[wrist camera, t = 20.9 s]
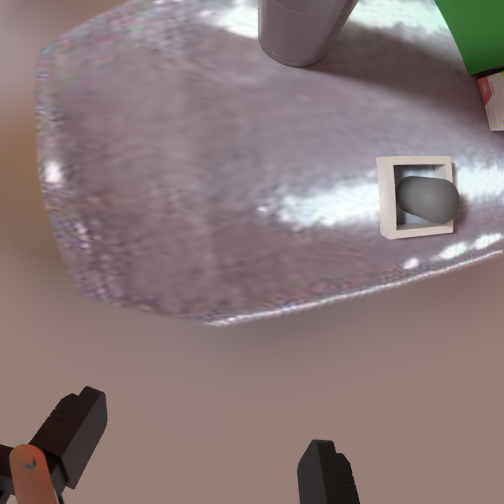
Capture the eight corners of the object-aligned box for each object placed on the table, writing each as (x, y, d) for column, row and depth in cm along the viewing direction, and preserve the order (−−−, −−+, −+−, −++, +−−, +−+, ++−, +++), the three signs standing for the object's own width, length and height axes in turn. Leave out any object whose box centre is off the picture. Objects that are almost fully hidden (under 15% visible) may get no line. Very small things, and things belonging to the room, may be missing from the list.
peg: (393, 178, 36) (421, 181, 29) (424, 174, 36) (456, 176, 28) (398, 216, 38) (426, 227, 30) (428, 210, 37) (460, 220, 29)
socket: (376, 157, 36) (384, 156, 33) (439, 156, 35) (450, 156, 32) (380, 234, 38) (389, 239, 35) (441, 227, 38) (453, 232, 35)
